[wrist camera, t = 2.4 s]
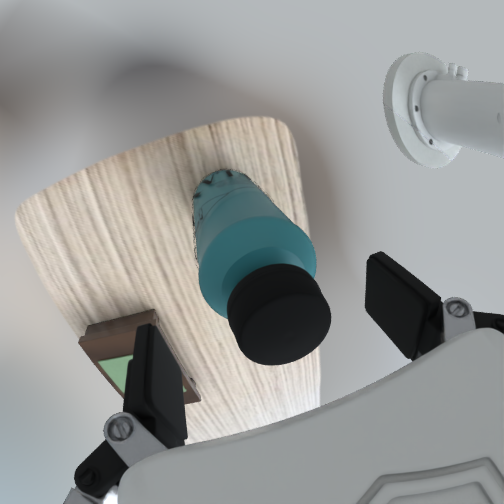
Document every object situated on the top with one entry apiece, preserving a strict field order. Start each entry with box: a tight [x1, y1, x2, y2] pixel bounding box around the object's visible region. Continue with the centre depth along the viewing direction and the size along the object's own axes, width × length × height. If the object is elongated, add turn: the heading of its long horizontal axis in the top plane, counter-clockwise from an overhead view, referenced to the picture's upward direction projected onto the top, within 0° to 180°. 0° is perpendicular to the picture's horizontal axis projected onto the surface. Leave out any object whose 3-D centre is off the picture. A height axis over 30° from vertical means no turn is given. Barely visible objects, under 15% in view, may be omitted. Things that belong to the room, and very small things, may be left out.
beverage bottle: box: [192, 169, 331, 365], centre depth 19 cm, size 6×7×20 cm
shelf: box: [78, 309, 201, 404], centre depth 33 cm, size 16×11×4 cm
